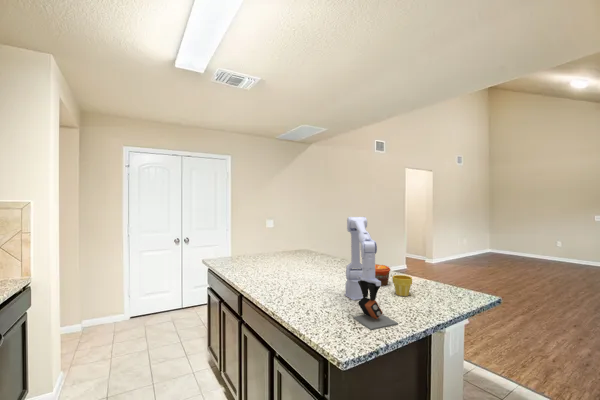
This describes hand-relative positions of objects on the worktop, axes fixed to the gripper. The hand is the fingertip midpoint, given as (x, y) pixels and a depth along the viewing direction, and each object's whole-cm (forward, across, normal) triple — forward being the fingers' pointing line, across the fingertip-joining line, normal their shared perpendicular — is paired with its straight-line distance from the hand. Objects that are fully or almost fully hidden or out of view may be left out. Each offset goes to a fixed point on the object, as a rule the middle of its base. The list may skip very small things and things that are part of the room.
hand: (368, 298), depth 127 cm
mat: (+9, +4, 0) cm, 9 cm away
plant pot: (+8, -20, +37) cm, 43 cm away
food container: (+7, -43, +38) cm, 58 cm away
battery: (+4, -4, 0) cm, 6 cm away
